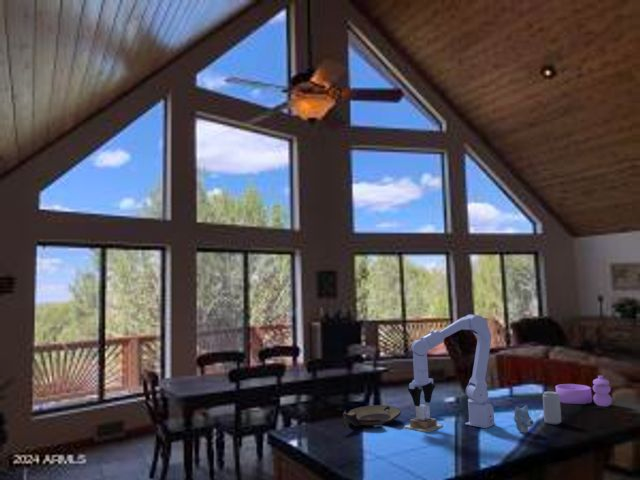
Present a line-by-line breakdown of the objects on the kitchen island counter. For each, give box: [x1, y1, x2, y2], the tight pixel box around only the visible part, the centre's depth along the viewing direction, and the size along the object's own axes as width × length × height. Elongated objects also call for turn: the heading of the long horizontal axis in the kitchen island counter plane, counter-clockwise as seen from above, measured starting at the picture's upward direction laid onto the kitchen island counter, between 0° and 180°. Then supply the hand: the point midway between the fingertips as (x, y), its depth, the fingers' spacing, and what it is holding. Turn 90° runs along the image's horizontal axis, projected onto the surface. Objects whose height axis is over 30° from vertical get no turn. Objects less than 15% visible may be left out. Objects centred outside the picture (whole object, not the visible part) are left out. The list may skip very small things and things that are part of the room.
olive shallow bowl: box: [342, 404, 402, 427], centre depth 223 cm, size 22×30×8 cm
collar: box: [404, 417, 444, 433], centre depth 215 cm, size 11×11×3 cm
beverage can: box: [542, 390, 562, 425], centre depth 215 cm, size 6×6×12 cm
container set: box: [555, 375, 613, 407], centre depth 249 cm, size 25×15×13 cm, turn 35°
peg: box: [414, 403, 431, 422], centre depth 215 cm, size 4×4×8 cm
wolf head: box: [513, 404, 535, 434], centre depth 202 cm, size 6×9×10 cm
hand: (422, 404), depth 215 cm, fingers open, 7 cm apart
